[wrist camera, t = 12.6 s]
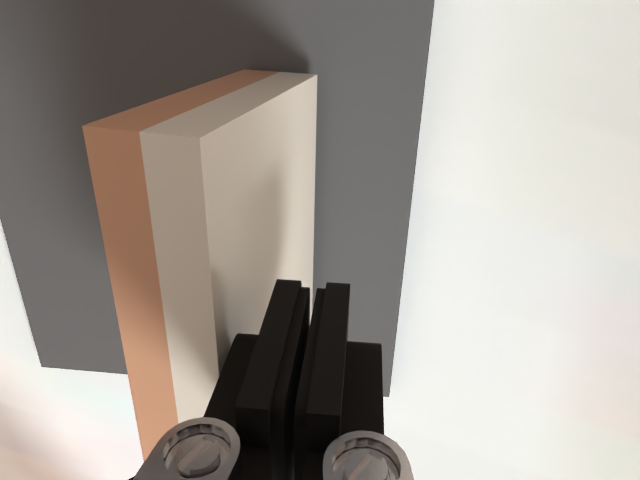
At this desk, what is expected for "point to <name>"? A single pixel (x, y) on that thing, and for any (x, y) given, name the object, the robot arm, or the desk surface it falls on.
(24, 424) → the desk surface
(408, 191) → the mat
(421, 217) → the desk surface
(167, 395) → the block
